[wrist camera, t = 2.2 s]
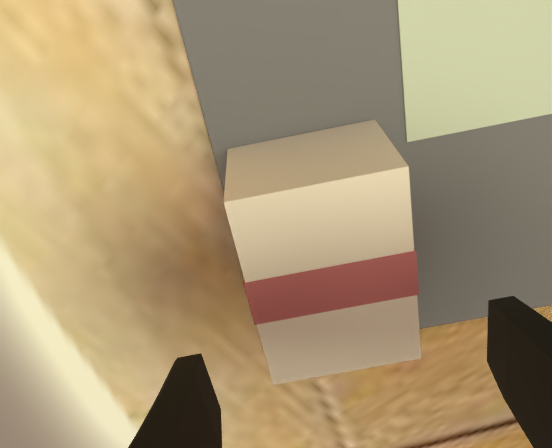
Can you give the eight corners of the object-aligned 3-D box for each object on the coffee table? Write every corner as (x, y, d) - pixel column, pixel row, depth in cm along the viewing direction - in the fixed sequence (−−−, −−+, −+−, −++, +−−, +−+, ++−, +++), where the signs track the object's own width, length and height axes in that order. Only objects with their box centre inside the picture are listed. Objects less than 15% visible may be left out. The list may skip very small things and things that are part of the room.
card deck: (392, 286, 20) (423, 358, 17) (266, 309, 21) (271, 386, 17) (376, 118, 17) (410, 166, 14) (226, 148, 17) (221, 203, 14)
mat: (640, 281, 22) (648, 289, 21) (267, 349, 22) (268, 357, 22) (779, -411, 12) (800, -425, 11) (108, -252, 13) (103, -259, 12)
